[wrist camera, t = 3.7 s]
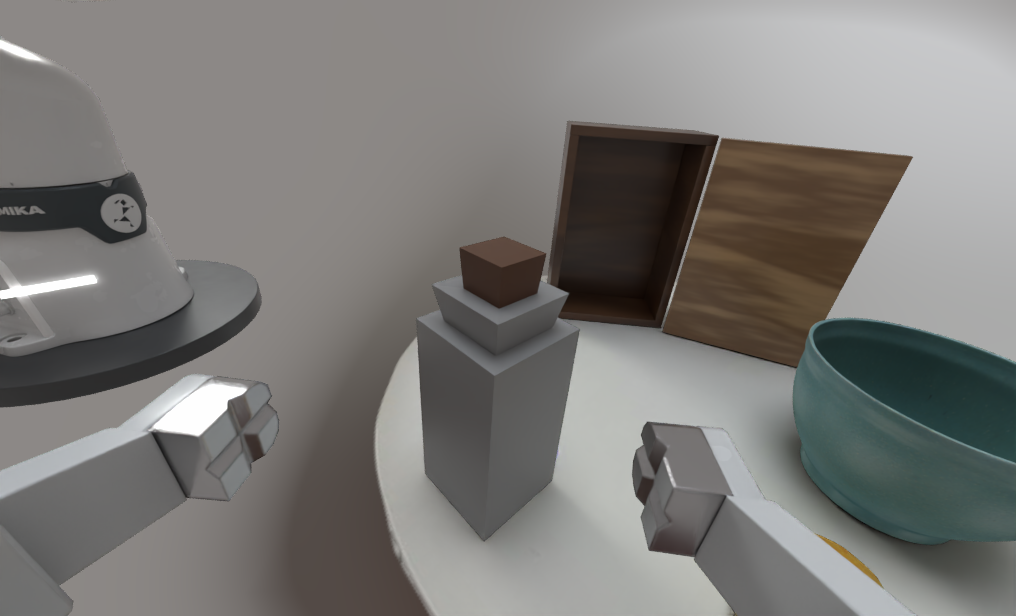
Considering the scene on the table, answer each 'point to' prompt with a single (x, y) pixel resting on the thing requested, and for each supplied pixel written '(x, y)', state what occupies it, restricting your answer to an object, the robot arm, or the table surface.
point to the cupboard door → (777, 243)
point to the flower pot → (909, 430)
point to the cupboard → (625, 218)
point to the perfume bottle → (494, 381)
